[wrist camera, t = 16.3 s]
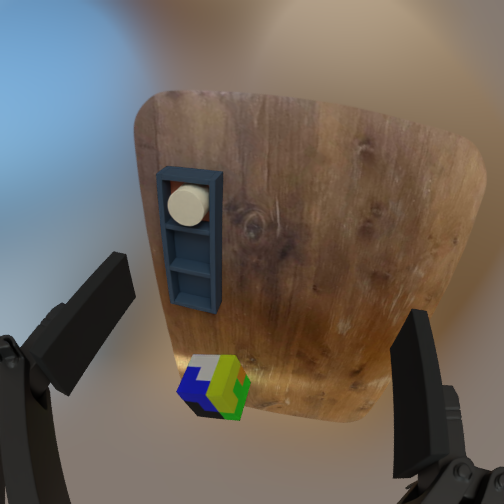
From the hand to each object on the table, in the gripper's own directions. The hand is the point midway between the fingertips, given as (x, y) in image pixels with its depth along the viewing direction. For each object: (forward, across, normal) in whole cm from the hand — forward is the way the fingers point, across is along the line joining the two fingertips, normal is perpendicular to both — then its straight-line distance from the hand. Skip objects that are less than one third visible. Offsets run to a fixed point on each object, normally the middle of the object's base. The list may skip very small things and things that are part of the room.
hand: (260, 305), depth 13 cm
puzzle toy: (+26, -10, -48) cm, 56 cm away
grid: (+26, -14, -16) cm, 34 cm away
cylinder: (+26, -14, -8) cm, 30 cm away
